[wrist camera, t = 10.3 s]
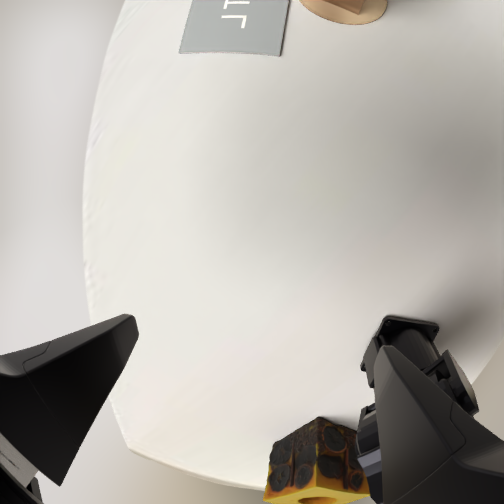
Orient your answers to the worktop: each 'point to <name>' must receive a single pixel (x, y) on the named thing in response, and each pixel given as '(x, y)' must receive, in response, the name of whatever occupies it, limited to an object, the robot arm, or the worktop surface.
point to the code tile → (235, 27)
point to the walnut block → (348, 5)
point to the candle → (316, 467)
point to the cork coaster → (368, 13)
